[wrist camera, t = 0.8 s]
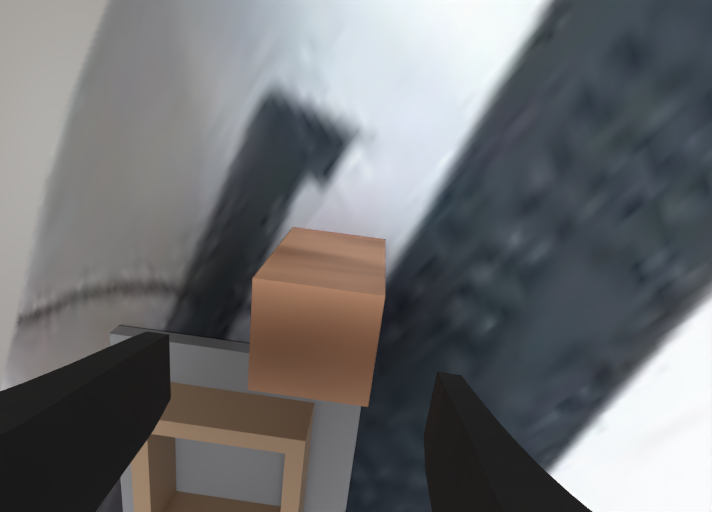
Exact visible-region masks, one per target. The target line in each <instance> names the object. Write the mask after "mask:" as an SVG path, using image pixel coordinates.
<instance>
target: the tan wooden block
mask: <svg viewBox="0 0 712 512" xmlns="http://www.w3.org/2000/svg"><path fill="white" fill-rule="evenodd" d="M384 301H385V239H379V238H371V237H364V236H356V235H349V234H341V233H334V232H326V231H319V230H311V229H304V228H296V227H293V228H292V229H291V230H290V232H289V233H288V234H287V235H286V237H285V238H284V239H283V241H282V242H281V243H280V244H279V246H278V247H277V248H276V249H275V251H274V252H273V253H272V254H271V256H270V257H269V258H268V259H267V261H266V262H265V263H264V264H263V266H262V267H261V268H260V269H259V271H258V272H257V273H256V274H255V276H254V277H253V280H252V303H251V326H250V348H249V371H248V390H252V391H259V392H266V393H273V394H280V395H287V396H294V397H301V398H308V399H315V400H322V401H329V402H336V403H343V404H350V405H357V406H364V407H368V404H369V398H370V391H371V385H372V378H373V372H374V365H375V359H376V353H377V346H378V340H379V333H380V327H381V321H382V314H383V308H384Z"/></svg>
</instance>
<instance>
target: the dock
mask: <svg viewBox="0 0 712 512" xmlns="http://www.w3.org/2000/svg"><path fill="white" fill-rule="evenodd" d="M147 331H148V332H155V333H162V334H169V347H170V383H171V399H170V401H169V403H168V405H167V407H166V409H165V411H164V413H163V414H162V416H161V418H160V420H159V422H158V423H157V425H156V427H155V429H154V431H153V432H152V434H151V435H150V437H149V438H148V439H147V441H146V442H145V444H144V445H143V446H142V448H141V449H140V451H139V452H138V453H137V455H136V456H135V458H134V459H133V460H132V462H131V463H130V465H129V466H128V467H127V469H126V470H125V471H124V473H123V474H122V475H121V490H122V503H123V512H345V511H346V505H347V498H348V491H349V484H350V478H351V471H352V464H353V458H354V451H355V444H356V438H357V431H358V424H359V417H360V411H361V406H357V405H350V404H343V403H336V402H329V401H322V400H315V399H308V398H301V397H294V396H287V395H280V394H273V393H266V392H259V391H252V390H248V371H249V348H250V344H249V343H242V342H235V341H228V340H220V339H213V338H206V337H199V336H192V335H185V334H178V333H170V332H163V331H156V330H149V329H142V328H135V327H128V326H121V325H119V326H118V327H117V328H116V329H114V330H113V331H112V332H111V333H109V335H110V346H112V345H114V344H117V343H119V342H121V341H124V340H126V339H128V338H131V337H133V336H136V335H138V334H141V333H144V332H147Z"/></svg>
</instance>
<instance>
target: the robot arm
mask: <svg viewBox="0 0 712 512" xmlns="http://www.w3.org/2000/svg"><path fill="white" fill-rule="evenodd" d="M170 399H171V383H170V347H169V334H162V333H155V332H148V331H147V332H144V333H141V334H138V335H136V336H133V337H131V338H128V339H126V340H124V341H121V342H119V343H117V344H114V345H112V346H110V347H108V348H105V349H103V350H101V351H99V352H96V353H94V354H92V355H90V356H87V357H85V358H83V359H81V360H78V361H76V362H74V363H71V364H69V365H67V366H64V367H62V368H59V369H57V370H54V371H52V372H49V373H47V374H44V375H42V376H40V377H37V378H35V379H32V380H30V381H27V382H25V383H22V384H19V385H17V386H14V387H11V388H8V389H6V390H3V391H0V512H95V511H96V510H97V508H98V507H99V506H100V504H101V503H102V501H103V500H104V499H105V497H106V496H107V495H108V493H109V492H110V491H111V489H112V488H113V486H114V485H115V484H116V482H117V481H118V480H119V478H120V477H121V475H122V474H123V473H124V471H125V470H126V469H127V467H128V466H129V465H130V463H131V462H132V460H133V459H134V458H135V456H136V455H137V453H138V452H139V451H140V449H141V448H142V446H143V445H144V444H145V442H146V441H147V439H148V438H149V437H150V435H151V434H152V432H153V431H154V429H155V427H156V425H157V423H158V422H159V420H160V418H161V416H162V414H163V413H164V411H165V409H166V407H167V405H168V403H169V401H170ZM424 447H425V468H426V477H427V484H428V490H429V496H430V502H431V508H432V512H592V511H591V510H589V509H588V508H587V507H586V506H584V505H583V504H582V503H581V502H580V501H578V500H577V499H576V498H575V497H574V496H572V495H571V494H570V493H569V492H568V491H567V490H566V489H564V488H563V487H562V486H561V485H560V484H559V483H558V482H557V481H556V480H555V479H553V478H552V477H551V476H550V475H549V474H548V473H547V472H546V471H545V470H544V469H543V468H542V467H540V466H539V465H538V464H537V463H536V462H535V461H534V460H533V459H532V458H531V457H530V456H529V454H528V453H527V452H526V451H525V450H524V449H523V448H522V447H521V446H520V445H519V444H518V443H517V442H516V441H515V440H514V439H513V438H512V436H511V435H510V434H509V433H508V432H507V431H506V430H505V429H504V428H503V426H502V425H501V424H500V423H499V422H498V421H497V419H496V418H495V417H494V416H493V415H492V413H491V412H490V411H489V410H488V409H487V407H486V406H485V405H484V404H483V402H482V401H481V400H480V399H479V398H478V396H477V395H476V394H475V392H474V391H473V390H472V389H471V387H470V386H469V385H468V384H467V382H466V381H465V380H464V379H463V378H462V376H461V375H456V374H449V373H441V372H437V376H436V381H435V386H434V390H433V395H432V400H431V404H430V409H429V414H428V418H427V423H426V428H425V432H424Z"/></svg>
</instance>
